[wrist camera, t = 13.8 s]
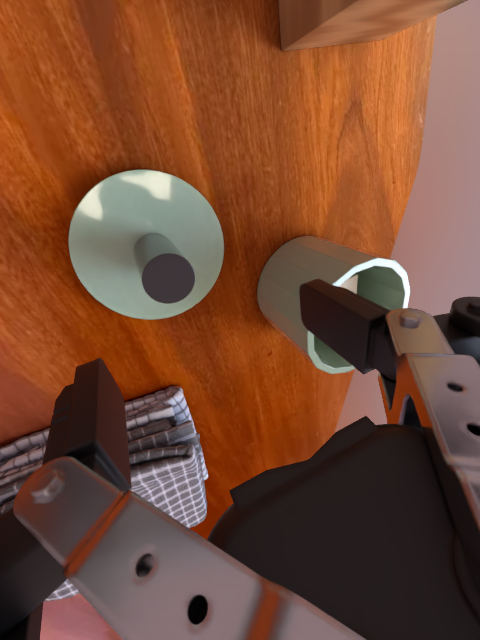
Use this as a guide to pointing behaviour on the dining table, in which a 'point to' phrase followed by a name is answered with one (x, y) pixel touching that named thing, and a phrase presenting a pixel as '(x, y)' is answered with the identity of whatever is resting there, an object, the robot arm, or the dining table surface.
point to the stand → (350, 20)
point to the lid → (146, 244)
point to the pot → (334, 268)
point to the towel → (133, 462)
